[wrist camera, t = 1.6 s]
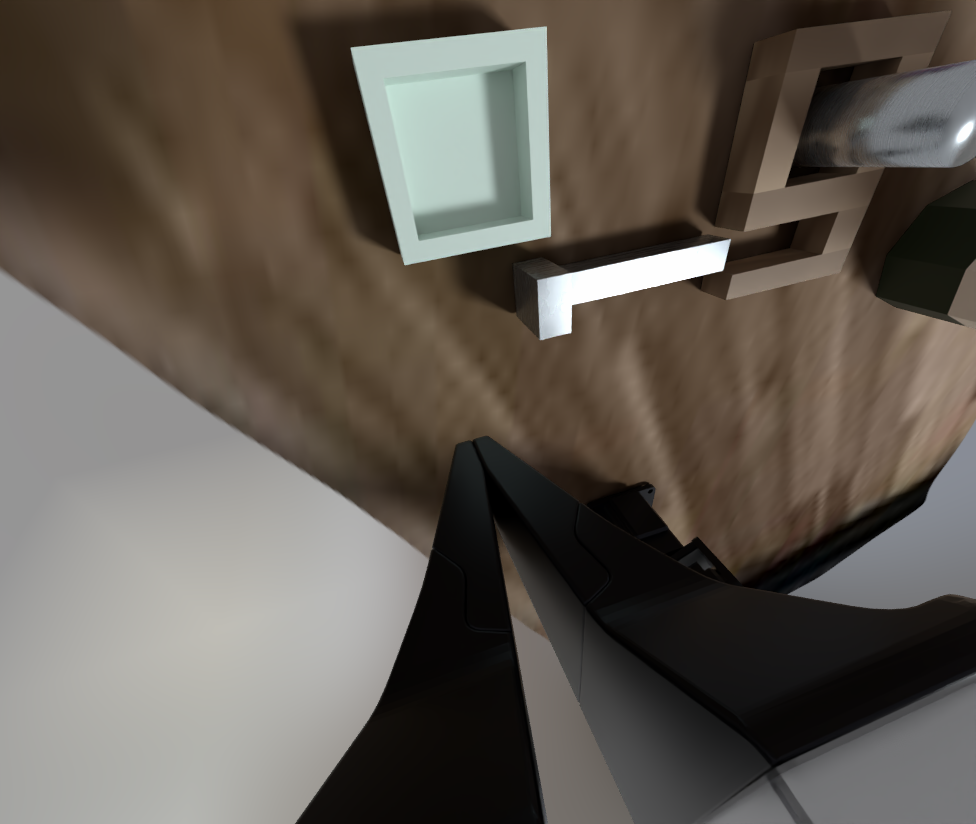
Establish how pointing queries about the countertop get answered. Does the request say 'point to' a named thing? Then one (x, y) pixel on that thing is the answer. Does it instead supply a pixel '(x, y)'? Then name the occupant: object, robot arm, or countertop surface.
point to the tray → (460, 139)
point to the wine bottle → (936, 261)
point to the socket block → (775, 135)
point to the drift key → (606, 278)
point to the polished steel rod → (893, 120)
